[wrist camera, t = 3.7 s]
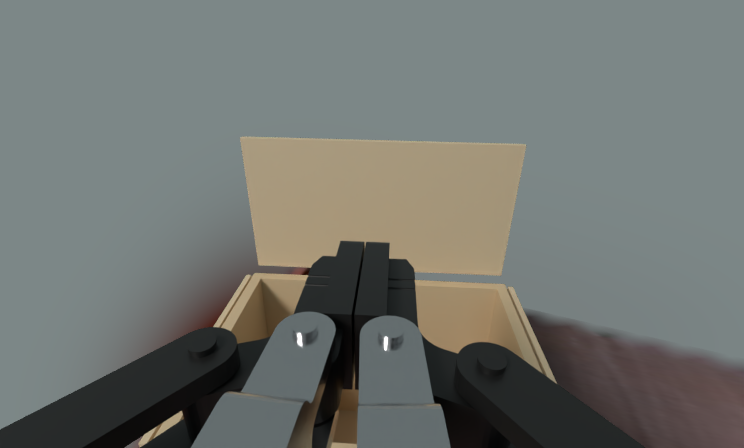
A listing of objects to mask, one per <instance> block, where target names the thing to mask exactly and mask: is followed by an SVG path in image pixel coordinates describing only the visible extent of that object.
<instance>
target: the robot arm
mask: <svg viewBox="0 0 744 448" xmlns="http://www.w3.org/2000/svg"><path fill="white" fill-rule="evenodd" d="M389 249H390V243H388V242H366V245H365V242H362V241H340V244H339V248H338V251H337V255H336V256H322V257H321V258H319V259H318V260H317V261H316V262H315V263H313V264H312V267H311V269H310V272H309V274H308V277H307V280H306V282H305V286H304V288H303V290H302V293H301V295H300V298H299V301H298V303H297V306H296V309H295V311H294V314H293V315H290V316H288V317H286V318H285V319H283V320H282V321H281V322H280V323H279V324H278V325H277V327H276V328H275V330H274V332H273V334H272V336H270V337H267V338H264V339H260V340H255V341H249V342H244V343H238V344H237V339H236V337H235V335H234V334H233V333H232V332H231V331H229V330H227V329H225V328H220V327H208V328H203V329H198V330H195V331H193V332H190V333H188V334H186V335H184V336H182V337H180V338H179V339H176V340H174V341H173V342H171V343H169V344H167V345H165V346H163V347H161V348H159V349H157V350H155V351H153V352H151V353H149V354H147V355H145V356H143V357H141V358H139V359H137V360H135V361H133V362H132V363H130V364H128V365H126V366H124V367H122V368H120V369H118V370H116V371H114V372H112V373H110V374H108V375H106V376H104V377H102V378H100V379H99V380H96V381H94V382H92V383H91V384H89V385H87V386H85V387H83V388H81V389H79V390H77V391H75V392H73V393H71V394H69V395H67V396H65V397H63V398H61V399H59V400H57V401H55V402H53V403H51V404H50V405H48V406H45V407H44V408H42V409H40V410H38V411H36V412H34V413H32V414H30V415H28V416H26V417H24V418H22V419H20V420H18V421H16V422H14V423H12V424H10V425H9V426H7V427H4V428H2V429H1V430H0V448H125V447H126V446H127V445H129V444H130V443H132V442H133V441H135V440H137V439H138V438H140V437H141V436H143V435H144V434H146V433H147V432H149V431H151V430H152V429H154V428H155V427H157V426H158V425H160V424H162V423H163V422H165V421H166V420H168V419H169V418H171V417H172V416H174V415H176V414H177V413H179V412H180V411H182V414H183V417H184V419H183V420H181V421H179V422H178V423H176V424H175V425H173V426H172V427H170V428H169V429H167V430H166V431H164V432H163V433H161V434H160V435H158V436H157V437H155V438H154V439H152V440H151V441H149V442H147V443H146V444H144V445H143V446H141V447H140V448H331V445H332V441H333V437H334V433H335V429H336V425H337V421H338V408H339V405H340V401H341V395H342V389H351V390H352V388H353V381H354V373H355V390H359V400H358V420H357V448H645V447H644V446H642V445H641V444H640V443H638V442H637V441H635V440H634V439H633V438H631V437H630V436H628V435H627V434H626V433H624V432H623V431H622V430H620V429H619V428H617V427H616V426H615V425H613V424H612V423H610V422H609V421H608V420H606V419H605V418H603V417H602V416H601V415H599V414H598V413H597V412H595V411H594V410H592V409H591V408H590V407H588V406H587V405H585V404H584V403H583V402H581V401H580V400H579V399H577V398H576V397H574V396H573V395H572V394H570V393H569V392H567V391H566V390H565V389H563V388H562V387H561V386H559V385H558V384H556V383H555V382H554V381H552V380H551V379H549V378H548V377H547V376H545V375H544V374H543V373H541V372H540V371H538V370H537V369H536V368H534V367H533V366H531V365H530V364H529V363H527V362H526V361H524V360H523V359H522V358H520V357H519V356H518V355H516V354H515V353H513V352H512V351H510V350H509V349H507V348H505V347H503V346H500V345H498V344H494V343H489V342H475V343H471V344H468V345H466V346H465V347H463V348H462V349H461V350H460V351H459V353H455V352H451V351H448V350H445V349H442V348H439V347H437V346H435V345H433V344H432V343H430V342H429V341H428V340H427V339H425V338H424V336H423V335H422V334H421V332H420V330H419V328H418V319H417V304H416V291H415V275H414V268H413V267H412V265H411V264H410V263H409V262H408V260H407V259H389Z"/></svg>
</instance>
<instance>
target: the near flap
mask: <svg viewBox="0 0 744 448" xmlns="http://www.w3.org/2000/svg"><path fill="white" fill-rule="evenodd" d="M240 140H241V147H242V154H243V161H244V168H245V174H246V181H247V188H248V195H249V202H250V209H251V216H252V223H253V230H254V236H255V243H256V250H257V257H258V263H259V265H266V266H289V267H312V264H313V263H315V262H316V261H317V260H318V259H319V258H321V257H322V256H336V255H337V251H338V248H339V244H340V241H362V242H365V245H366V242H388V243H390V249H389V259H407V260H408V262H409V263H410V264H411V265H412V267H413V268H414V272H427V273H450V274H474V275H496V276H497V275H498V276H501V273H502V268H503V263H504V258H505V253H506V247H507V243H508V238H509V232H510V227H511V222H512V217H513V211H514V206H515V201H516V196H517V191H518V185H519V181H520V176H521V170H522V165H523V160H524V155H525V150H526V145H525V144H498V143H462V142H461V143H460V142H424V141H387V140H350V139H311V138H275V137H274V138H273V137H272V138H271V137H241V138H240Z"/></svg>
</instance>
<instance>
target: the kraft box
mask: <svg viewBox="0 0 744 448" xmlns="http://www.w3.org/2000/svg"><path fill="white" fill-rule="evenodd" d="M307 277H308V275H288V274H265V273H254V275H253V276H252V277H251V275H246V277H245V278H244V280H243V281H242V283H241V284H240V286H239V288H238V289H237V291H236V292H235V294H234V295H233V297H232V299H231V300H230V302H229V303H228V305H227V306H226V308H225V310H224V311H223V313H222V314H221V316H220V317H219V319H218V321H217V322H216V324H215V325H214V327H220V328H225V329H227V330H229V331H231V332H232V333H233V334H234V335H235V337H236V339H237V344H238V343H244V342H249V341H255V340H260V339H264V338H267V337H270V336H272V334H273V332H274V330H275V328H276V327H277V325H278V324H279V323H280V322H281V321H282V320H283V319H285V318H286V317H288V316H290V315H293V314H294V311H295V309H296V306H297V303H298V301H299V298H300V295H301V293H302V290H303V288H304V286H305V282H306V280H307ZM415 291H416V304H417V319H418V328H419V330H420V332H421V334H422V335H423V336H424V338H425V339H427V340H428V341H429V342H430V343H432V344H433V345H435V346H437V347H439V348H442V349H445V350H448V351H451V352H455V353H459V351H460V350H461V349H462V348H463V347H465V346H466V345H468V344H471V343H475V342H489V343H494V344H498V345H500V346H503V347H505V348H507V349H509V350H510V351H512V352H513V353H515V354H516V355H518V356H519V357H520V358H522V359H523V360H524V361H526V362H527V363H529V364H530V365H531V366H533V367H534V368H536V369H537V370H538V371H540V372H541V373H543V374H544V375H545V376H547V377H548V378H549V379H551V380H552V381H554V382H555V383H556V384H557V382H556V380H555V378H554V376H553V374H552V371H551V369H550V367H549V365H548V363H547V360H546V358H545V356H544V354H543V352H542V350H541V347H540V345H539V343H538V341H537V339H536V336H535V334H534V332H533V330H532V328H531V325H530V323H529V321H528V319H527V317H526V314H525V312H524V310H523V308H522V306H521V303H520V301H519V299H518V297H517V295H516V293H515V290H514V288H513V287H508V289H507V288H506V286H505V284H490V283H468V282H445V281H443V282H442V281H423V280H415ZM358 400H359V390H355V373H354V381H353V388H352V390H351V389H342V395H341V401H340V405H339V408H338V421H337V425H336V429H335V433H334V437H333V441H332V445H331V448H357V420H358ZM183 419H184V417H183V414H182V411H180V412H179V413H177V414H176V415H174V416H172V417H171V418H169V419H168V420H166V421H165V422H163V423H162V424H160V425H158V426H157V427H155V428H154V429H152V430H151V431H149V432H147V433H146V434H144V436H143V438H142V439H141V441H140V442H139V446H140V447H141V446H143V445H144V444H146V443H147V442H149V441H151V440H152V439H154V438H155V437H157V436H158V435H160V434H161V433H163V432H164V431H166V430H167V429H169V428H170V427H172V426H173V425H175V424H176V423H178V422H179V421H181V420H183Z"/></svg>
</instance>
